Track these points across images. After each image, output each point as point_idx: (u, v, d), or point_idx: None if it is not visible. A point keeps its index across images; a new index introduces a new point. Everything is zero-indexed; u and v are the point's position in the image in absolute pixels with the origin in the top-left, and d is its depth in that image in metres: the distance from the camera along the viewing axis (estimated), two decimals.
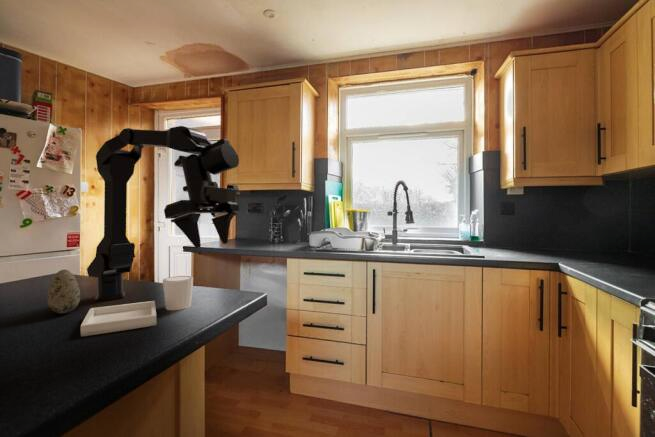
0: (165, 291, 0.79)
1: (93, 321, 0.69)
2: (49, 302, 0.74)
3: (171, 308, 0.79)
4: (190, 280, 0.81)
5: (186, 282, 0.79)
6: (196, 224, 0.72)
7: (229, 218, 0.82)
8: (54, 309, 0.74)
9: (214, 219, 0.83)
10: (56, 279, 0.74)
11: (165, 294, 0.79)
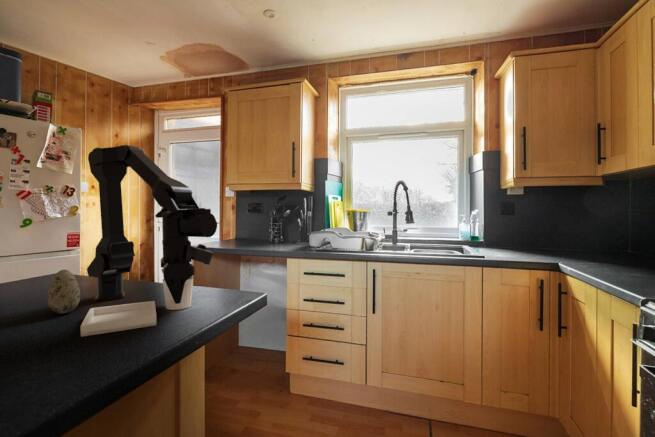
0: (165, 291, 0.79)
1: (93, 321, 0.69)
2: (49, 302, 0.74)
3: (171, 308, 0.79)
4: (190, 280, 0.81)
5: (186, 281, 0.79)
6: None
7: None
8: (54, 309, 0.74)
9: None
10: (56, 279, 0.74)
11: (165, 294, 0.79)
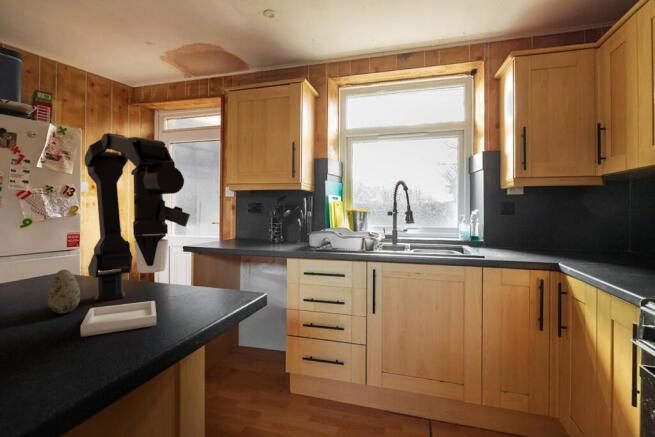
0: (137, 252, 0.73)
1: (93, 321, 0.69)
2: (49, 302, 0.74)
3: (143, 270, 0.73)
4: (164, 241, 0.75)
5: (160, 243, 0.74)
6: None
7: None
8: (54, 309, 0.74)
9: None
10: (56, 279, 0.74)
11: (137, 256, 0.73)
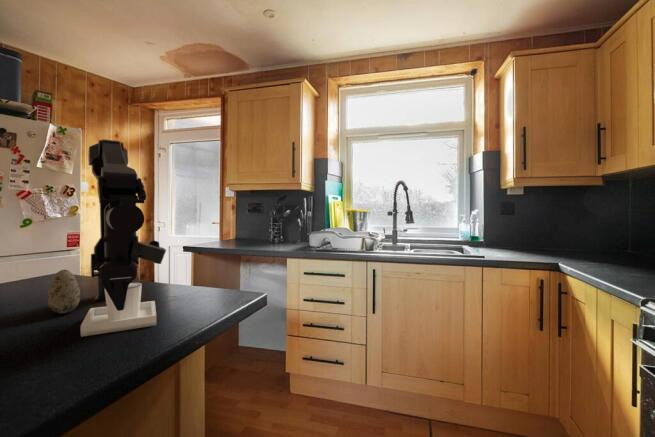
0: (107, 300, 0.68)
1: (93, 321, 0.69)
2: (49, 302, 0.74)
3: None
4: (137, 288, 0.70)
5: (132, 290, 0.69)
6: None
7: None
8: (54, 309, 0.74)
9: None
10: (56, 279, 0.74)
11: (107, 304, 0.68)
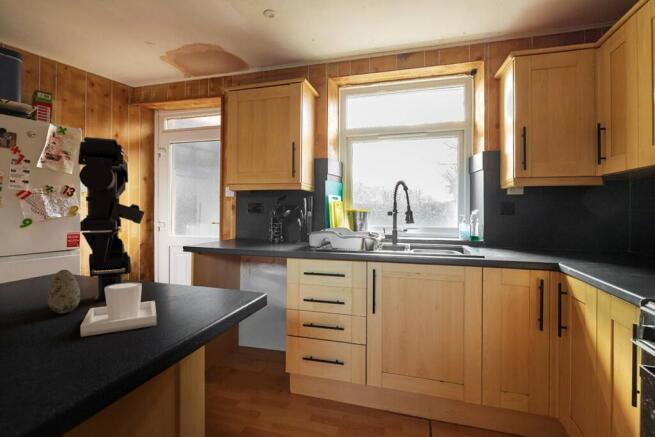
0: (107, 300, 0.68)
1: (93, 321, 0.69)
2: (49, 302, 0.74)
3: None
4: (137, 287, 0.70)
5: (132, 290, 0.69)
6: (108, 240, 0.73)
7: None
8: (54, 309, 0.74)
9: None
10: (56, 279, 0.74)
11: (107, 304, 0.69)
